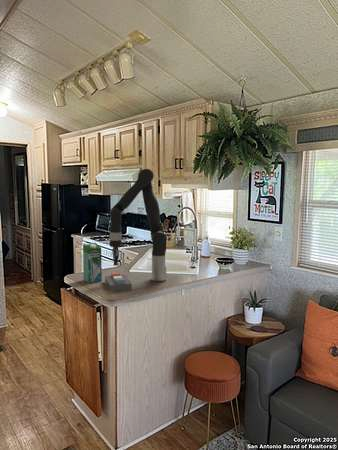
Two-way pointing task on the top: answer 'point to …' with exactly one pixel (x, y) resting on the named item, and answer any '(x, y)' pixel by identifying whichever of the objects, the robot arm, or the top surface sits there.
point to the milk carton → (92, 263)
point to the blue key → (119, 281)
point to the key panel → (120, 287)
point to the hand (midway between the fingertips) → (115, 265)
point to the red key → (115, 274)
